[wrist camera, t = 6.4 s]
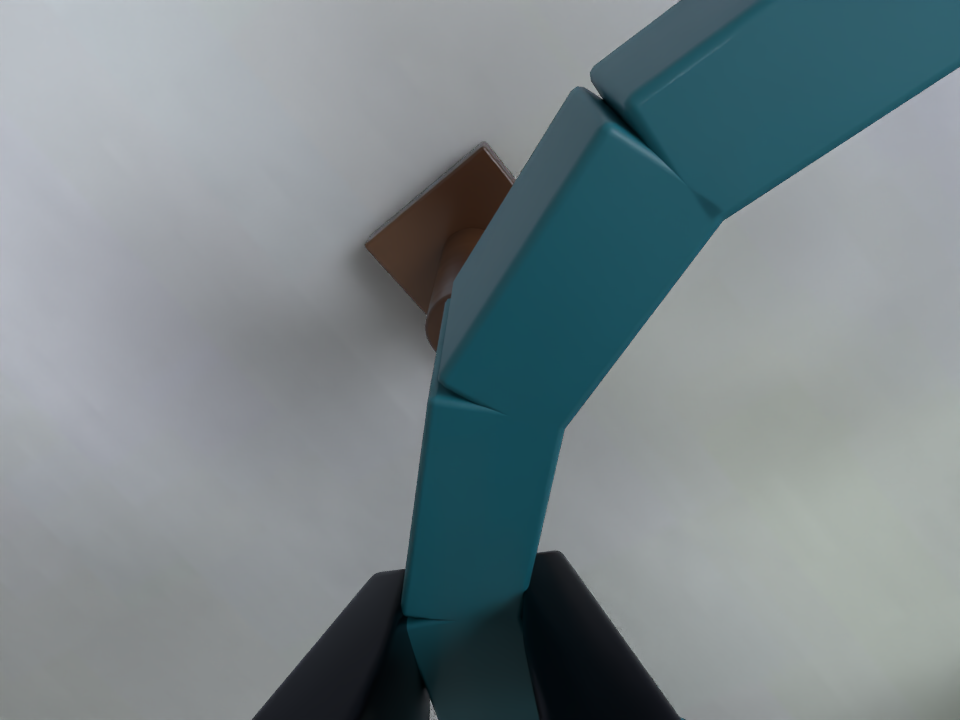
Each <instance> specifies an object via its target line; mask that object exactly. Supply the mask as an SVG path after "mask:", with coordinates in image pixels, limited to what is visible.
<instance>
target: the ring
mask: <svg viewBox="0 0 960 720" xmlns="http://www.w3.org/2000/svg"><path fill="white" fill-rule="evenodd" d="M959 67H960V0H681V1H679V2H678V3H677V4H675V5H674V6H673V7H671V8H670V9H669V10H667V11H666V12H665V13H663V14H662V15H661V16H659V17H658V18H657V19H655V20H654V21H653V22H651V23H650V24H649V25H647V26H646V27H645V28H644V29H642V30H641V31H640V32H638V33H637V34H636V35H634V36H633V37H632V38H630V39H629V40H628V41H626V42H625V43H624V44H622V45H621V46H620V47H618V48H617V49H616V50H614V51H613V52H612V53H610V54H609V55H608V56H606V57H605V58H604V59H602V60H601V61H600V62H598V63H597V64H596V65H595V66H594V67H593V68H592V70H591V72H590V77H591V82H592V83H593V85H594V86H595V88H596V89H597V91H598V92H599V94H600V96H601V97H602V99H601V98H600V97H598V96H597V95H595V94H594V93H592V92H591V91H589V90H588V89H586V88H585V87H578V86H577V87H576V88H574V89H573V90H572V91H571V92H570V94H569V95H568V97H567V98H566V100H565V102H564V103H563V105H562V106H561V108H560V110H559V111H558V113H557V115H556V116H555V118H554V119H553V121H552V123H551V124H550V126H549V127H548V129H547V131H546V132H545V134H544V136H543V137H542V139H541V140H540V142H539V144H538V145H537V147H536V149H535V150H534V152H533V153H532V155H531V157H530V158H529V160H528V161H527V163H526V165H525V166H524V168H523V170H522V171H521V173H520V174H519V176H518V178H517V179H516V181H515V183H514V184H513V186H512V187H511V189H510V191H509V192H508V194H507V195H506V197H505V199H504V200H503V202H502V204H501V205H500V207H499V208H498V210H497V212H496V213H495V215H494V217H493V218H492V220H491V221H490V223H489V225H488V226H487V228H486V229H485V231H484V233H483V234H482V236H481V238H480V239H479V241H478V242H477V244H476V246H475V247H474V249H473V250H472V252H471V254H470V255H469V257H468V259H467V260H466V262H465V263H464V265H463V267H462V268H461V270H460V272H459V273H458V275H457V276H456V278H455V280H454V282H453V288H452V294H451V298H450V299H447V301H446V302H445V306H444V312H443V317H442V323H441V329H440V334H439V340H438V346H437V351H436V357H435V363H434V368H433V374H432V380H431V385H430V391H429V397H428V403H427V410H426V418H425V425H424V433H423V440H422V448H421V456H420V463H419V471H418V478H417V486H416V493H415V501H414V508H413V516H412V524H411V531H410V539H409V546H408V554H407V561H406V569H405V576H404V584H403V591H402V599H401V607H402V612H403V615H404V616H406V617H408V618H407V632H408V635H409V638H410V642H411V645H412V648H413V651H414V655H415V658H416V661H417V664H418V668H419V671H420V674H421V677H422V679H423V682H424V684H425V687H426V689H427V692H428V694H429V697H430V700H431V702H432V705H433V707H434V710H435V712H436V715H437V717H438V720H539V718H538V713H537V708H536V703H535V698H534V693H533V689H532V684H531V679H530V674H529V669H528V664H527V660H526V655H525V648H524V642H523V593H524V591H525V590H526V589H527V588H528V587H529V584H530V579H531V575H532V571H533V566H534V562H535V558H536V553H537V549H538V544H539V540H540V536H541V531H542V527H543V522H544V518H545V514H546V509H547V505H548V501H549V496H550V492H551V487H552V483H553V479H554V474H555V470H556V465H557V461H558V457H559V452H560V448H561V444H562V439H563V435H564V430H565V428H566V427H567V425H568V424H569V423H570V421H571V420H572V419H573V418H574V416H575V415H576V414H577V412H578V411H579V410H580V408H581V407H582V406H583V404H584V403H585V402H586V400H587V399H588V398H589V396H590V395H591V394H592V393H593V391H594V390H595V389H596V387H597V386H598V385H599V383H600V382H601V381H602V379H603V378H604V377H605V375H606V374H607V373H608V371H609V370H610V369H611V368H612V366H613V365H614V364H615V362H616V361H617V360H618V358H619V357H620V356H621V354H622V353H623V352H624V350H625V349H626V348H627V346H628V345H629V344H630V342H631V341H632V340H633V339H634V337H635V336H636V335H637V333H638V332H639V331H640V329H641V328H642V327H643V325H644V324H645V323H646V321H647V320H648V319H649V317H650V316H651V315H652V314H653V312H654V311H655V310H656V308H657V307H658V306H659V304H660V303H661V302H662V300H663V299H664V298H665V296H666V295H667V294H668V292H669V291H670V290H671V288H672V287H673V286H674V285H675V283H676V282H677V281H678V279H679V278H680V277H681V275H682V274H683V273H684V271H685V270H686V269H687V267H688V266H689V265H690V263H691V262H692V261H693V260H694V258H695V257H696V256H697V254H698V253H699V252H700V250H701V249H702V248H703V246H704V245H705V244H706V242H707V241H708V240H709V238H710V237H711V236H712V235H713V233H714V232H715V231H716V229H717V228H718V227H719V225H720V224H721V223H722V221H724V220H725V219H727V218H728V217H730V216H731V215H733V214H734V213H736V212H737V211H739V210H740V209H742V208H743V207H745V206H747V205H748V204H750V203H751V202H753V201H754V200H756V199H757V198H759V197H760V196H762V195H763V194H765V193H767V192H768V191H770V190H771V189H773V188H774V187H776V186H777V185H779V184H780V183H782V182H783V181H785V180H787V179H788V178H790V177H791V176H793V175H794V174H796V173H797V172H799V171H800V170H802V169H803V168H805V167H807V166H808V165H810V164H811V163H813V162H814V161H816V160H817V159H819V158H820V157H822V156H823V155H825V154H826V153H828V152H830V151H831V150H833V149H834V148H836V147H837V146H839V145H840V144H842V143H843V142H845V141H846V140H848V139H850V138H851V137H853V136H854V135H856V134H857V133H859V132H860V131H862V130H863V129H865V128H866V127H868V126H870V125H871V124H873V123H874V122H876V121H877V120H879V119H880V118H882V117H883V116H885V115H886V114H888V113H889V112H891V111H893V110H894V109H896V108H897V107H899V106H900V105H902V104H903V103H905V102H906V101H908V100H909V99H911V98H913V97H914V96H916V95H917V94H919V93H920V92H922V91H923V90H925V89H926V88H928V87H929V86H931V85H933V84H934V83H936V82H937V81H939V80H940V79H942V78H943V77H945V76H946V75H948V74H949V73H951V72H952V71H954V70H956V69H957V68H959ZM680 718H681V717H680ZM681 720H685V719H683V718H681Z"/></svg>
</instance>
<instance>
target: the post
mask: <svg viewBox="0 0 960 720" xmlns="http://www.w3.org/2000/svg"><path fill="white" fill-rule="evenodd" d="M515 181H516V179H515V178H514V176H513V175H512V174H511V173H510V171H509V170H508V169H507V168H506V166H505V165H504V164H503V163H502V161H501V160H500V159H499V158H498V156H497V155H496V154H495V153H494V151H493V150H492V149H491V148H490V146H489V145H488V144H487V143H486V142H481V143H480V144H479V145H478V146H477V147H475V148H474V149H473V150H472V151H471V152H469V153H468V154H467V155H466V156H465V157H464V158H462V159H461V160H460V161H459V162H458V163H456V164H455V165H454V166H453V167H452V168H450V169H449V170H448V171H447V172H446V173H444V174H443V175H442V176H441V177H440V178H439V179H437V180H436V181H435V182H434V183H433V184H431V185H430V186H429V187H428V188H427V189H425V190H424V191H423V192H422V193H421V194H419V195H418V196H417V197H416V198H415V199H414V200H412V201H411V202H410V203H409V204H408V205H406V206H405V207H404V208H403V209H402V210H400V211H399V212H398V213H397V214H396V215H395V216H393V217H392V218H391V219H390V220H389V221H387V222H386V223H385V224H384V225H383V226H381V227H380V228H379V229H378V230H377V231H375V232H374V233H373V234H372V235H371V236H370V237H369V238H368V240H367V242H366V244H365V248H366V249H367V250H368V251H369V252H370V253H371V254H372V255H373V257H374V258H375V259H376V260H377V261H378V262H379V263H380V264H381V265H382V266H383V268H384V269H385V270H386V271H387V272H388V273H389V274H390V275H391V276H392V277H393V279H394V280H395V281H396V282H397V283H398V284H399V285H400V286H401V287H402V288H403V290H404V291H405V292H406V293H407V294H408V295H409V296H410V297H411V298H412V299H413V301H414V302H415V303H416V304H417V305H418V306H419V307H420V308H421V309H422V310H423V312H424V313H425V314H426V315H427V317H426V322H425V331H426V336H427V339H428V341H429V343H430V345H431V347H432V348H433V349H434V350H435V351H437V346H438V340H439V334H440V329H441V323H442V317H443V312H444V306H445V302H446V301H447V299H450V298H451V294H452V288H453V282H454V280H455V278H456V276H457V275H458V273H459V272H460V270H461V268H462V267H463V265H464V263H465V262H466V260H467V259H468V257H469V255H470V254H471V252H472V250H473V249H474V247H475V246H476V244H477V242H478V241H479V239H480V238H481V236H482V234H483V233H484V231H485V229H486V228H487V226H488V225H489V223H490V221H491V220H492V218H493V217H494V215H495V213H496V212H497V210H498V208H499V207H500V205H501V204H502V202H503V200H504V199H505V197H506V195H507V194H508V192H509V191H510V189H511V187H512V186H513V184H514V183H515Z"/></svg>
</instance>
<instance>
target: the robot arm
mask: <svg viewBox="0 0 960 720" xmlns="http://www.w3.org/2000/svg"><path fill="white" fill-rule="evenodd" d="M404 576H405V569H400V570H392V571H384V572H379V573H376V574H374V575H373V576H372V577H371V578H370V579H369V580H368V581H367V583H366V584H365V585H364V586H363V587H362V589H361V590H360V591H359V592H358V593H357V595H356V596H355V597H354V598H353V599H352V601H351V602H350V603H349V604H348V605H347V607H346V608H345V609H344V610H343V611H342V612H341V614H340V615H339V616H338V617H337V618H336V620H335V621H334V622H333V623H332V624H331V626H330V627H329V628H328V629H327V630H326V632H325V633H324V634H323V635H322V636H321V638H320V639H319V640H318V641H317V642H316V644H315V645H314V646H313V647H312V648H311V650H310V651H309V652H308V653H307V654H306V655H305V657H304V658H303V659H302V660H301V661H300V663H299V664H298V665H297V666H296V667H295V669H294V670H293V671H292V672H291V673H290V675H289V676H288V677H287V678H286V679H285V681H284V682H283V683H282V684H281V685H280V687H279V688H278V689H277V690H276V691H275V692H274V694H273V695H272V696H271V697H270V698H269V700H268V701H267V702H266V703H265V704H264V706H263V707H262V708H261V709H260V710H259V712H258V713H257V714H256V715H255V716H254V718H253V719H252V720H430V697H429V694H428V692H427V689H426V687H425V684H424V682H423V679H422V677H421V674H420V671H419V668H418V664H417V661H416V658H415V655H414V651H413V648H412V645H411V642H410V638H409V635H408V632H407V618H408V617H406V616H404V615H403V612H402V607H401V599H402V591H403V584H404ZM523 642H524V648H525V655H526V660H527V664H528V669H529V674H530V679H531V684H532V689H533V693H534V698H535V703H536V708H537V713H538V718H539V720H681V718H680V717H679V716H678V714H677V713H676V711H675V710H674V709H673V707H672V706H671V704H670V703H669V702H668V700H667V699H666V697H665V696H664V695H663V693H662V692H661V690H660V689H659V688H658V686H657V685H656V683H655V682H654V681H653V679H652V678H651V676H650V675H649V674H648V672H647V671H646V669H645V668H644V667H643V665H642V664H641V662H640V661H639V660H638V658H637V657H636V655H635V654H634V653H633V651H632V650H631V648H630V647H629V646H628V644H627V643H626V641H625V640H624V639H623V637H622V636H621V634H620V633H619V632H618V630H617V629H616V627H615V626H614V625H613V623H612V622H611V620H610V619H609V618H608V616H607V615H606V613H605V612H604V610H603V609H602V608H601V606H600V605H599V603H598V602H597V601H596V599H595V598H594V596H593V595H592V594H591V592H590V591H589V589H588V588H587V587H586V585H585V584H584V582H583V581H582V580H581V578H580V577H579V575H578V574H577V573H576V571H575V570H574V568H573V567H572V566H571V564H570V563H569V561H568V560H567V559H566V557H565V556H564V555H563V554H562V553H561V552H560V551H547V552H539V553H536V558H535V562H534V566H533V571H532V575H531V579H530V584H529V587H528V588H527V589H526V590H525V591H524V593H523Z"/></svg>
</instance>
